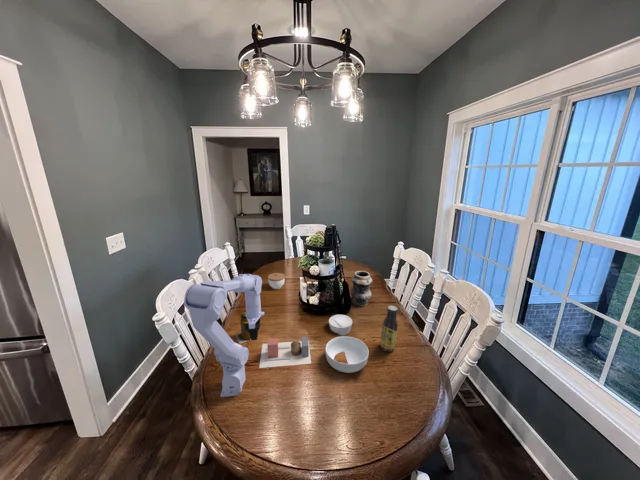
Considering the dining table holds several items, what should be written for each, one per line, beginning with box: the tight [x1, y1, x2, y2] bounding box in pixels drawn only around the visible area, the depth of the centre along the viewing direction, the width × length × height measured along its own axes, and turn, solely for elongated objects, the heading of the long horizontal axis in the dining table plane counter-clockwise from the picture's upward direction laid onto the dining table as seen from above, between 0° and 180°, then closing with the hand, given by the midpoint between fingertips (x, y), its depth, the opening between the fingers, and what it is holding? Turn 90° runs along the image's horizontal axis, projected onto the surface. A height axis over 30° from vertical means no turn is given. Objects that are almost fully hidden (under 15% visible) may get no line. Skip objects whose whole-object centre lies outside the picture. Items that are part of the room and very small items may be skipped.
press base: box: [258, 336, 312, 369], centre depth 106 cm, size 14×20×6 cm
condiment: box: [234, 310, 251, 345], centre depth 117 cm, size 7×8×12 cm
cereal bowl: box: [324, 335, 370, 374], centre depth 102 cm, size 17×17×7 cm
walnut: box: [291, 340, 301, 356], centre depth 106 cm, size 4×4×4 cm
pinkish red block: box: [266, 337, 279, 358], centre depth 105 cm, size 4×4×6 cm
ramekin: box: [328, 314, 353, 337], centre depth 123 cm, size 11×11×5 cm
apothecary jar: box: [349, 270, 373, 307], centre depth 148 cm, size 12×12×18 cm
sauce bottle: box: [380, 305, 399, 353], centre depth 109 cm, size 7×6×20 cm
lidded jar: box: [267, 272, 286, 290], centre depth 167 cm, size 11×11×9 cm
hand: (255, 333), depth 104 cm, fingers open, 7 cm apart
